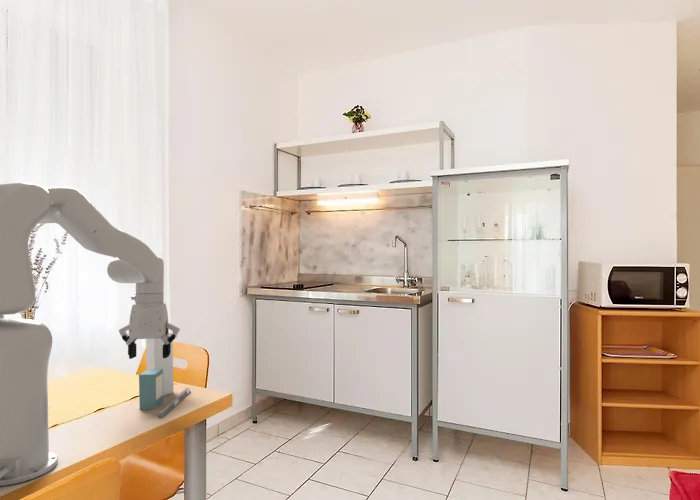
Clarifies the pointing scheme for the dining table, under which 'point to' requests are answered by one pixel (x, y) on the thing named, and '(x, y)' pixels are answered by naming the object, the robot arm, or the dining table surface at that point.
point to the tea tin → (151, 388)
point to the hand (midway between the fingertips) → (149, 357)
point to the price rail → (173, 402)
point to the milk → (160, 362)
